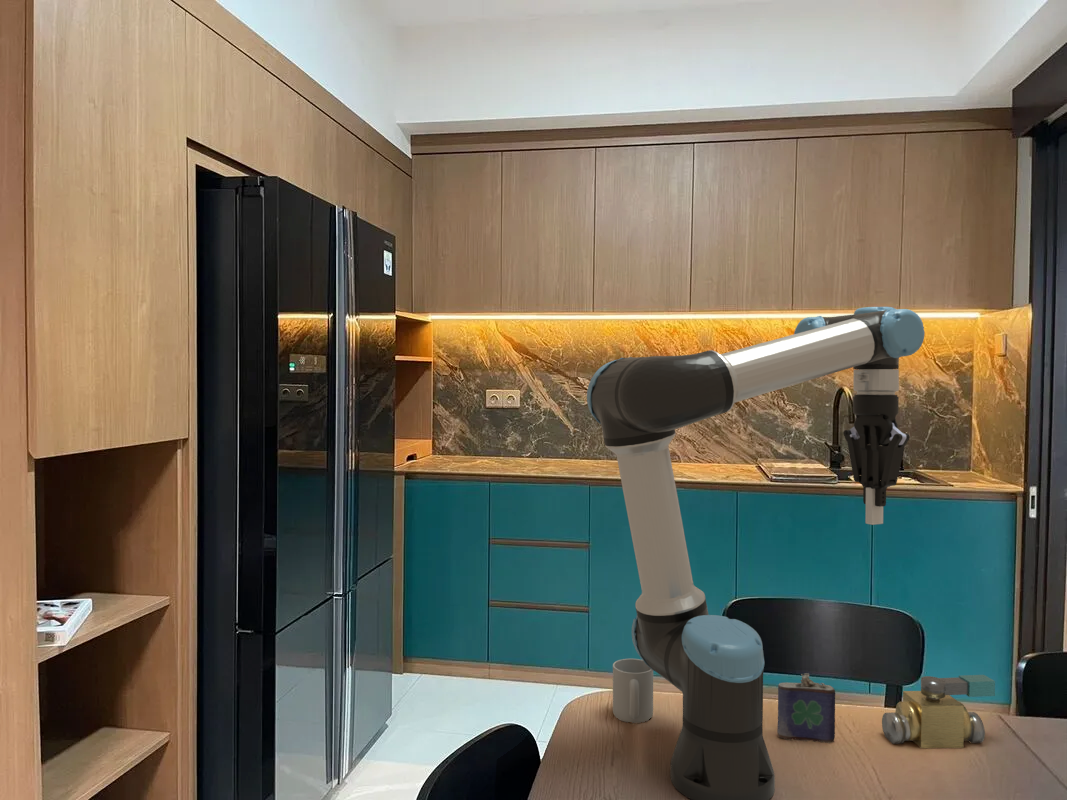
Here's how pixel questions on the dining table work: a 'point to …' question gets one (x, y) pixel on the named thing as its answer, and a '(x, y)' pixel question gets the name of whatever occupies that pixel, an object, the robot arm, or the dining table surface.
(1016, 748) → the dining table surface
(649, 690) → the cup
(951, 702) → the pipe valve
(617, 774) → the dining table surface
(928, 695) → the lever
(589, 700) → the dining table surface
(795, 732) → the flask
